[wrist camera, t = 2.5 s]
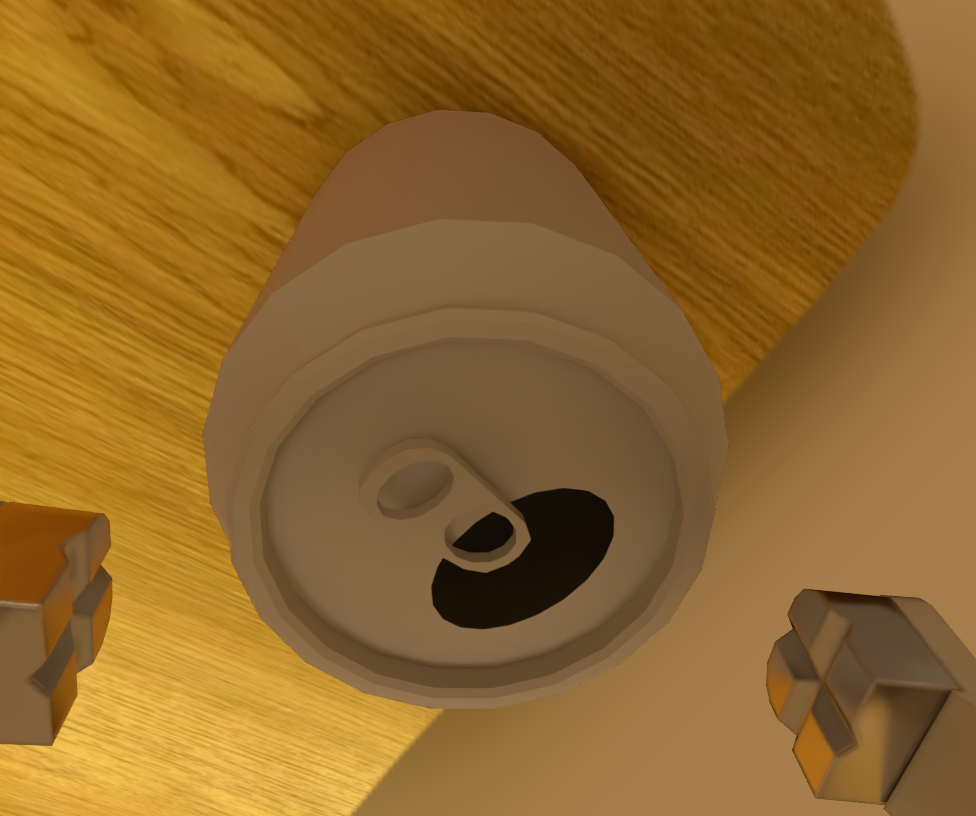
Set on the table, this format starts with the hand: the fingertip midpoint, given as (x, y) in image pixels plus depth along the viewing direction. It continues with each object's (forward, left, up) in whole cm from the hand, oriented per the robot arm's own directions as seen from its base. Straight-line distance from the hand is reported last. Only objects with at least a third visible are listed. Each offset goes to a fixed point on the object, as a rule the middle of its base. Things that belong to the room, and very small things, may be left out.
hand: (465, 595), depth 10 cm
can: (0, 0, -13) cm, 13 cm away
